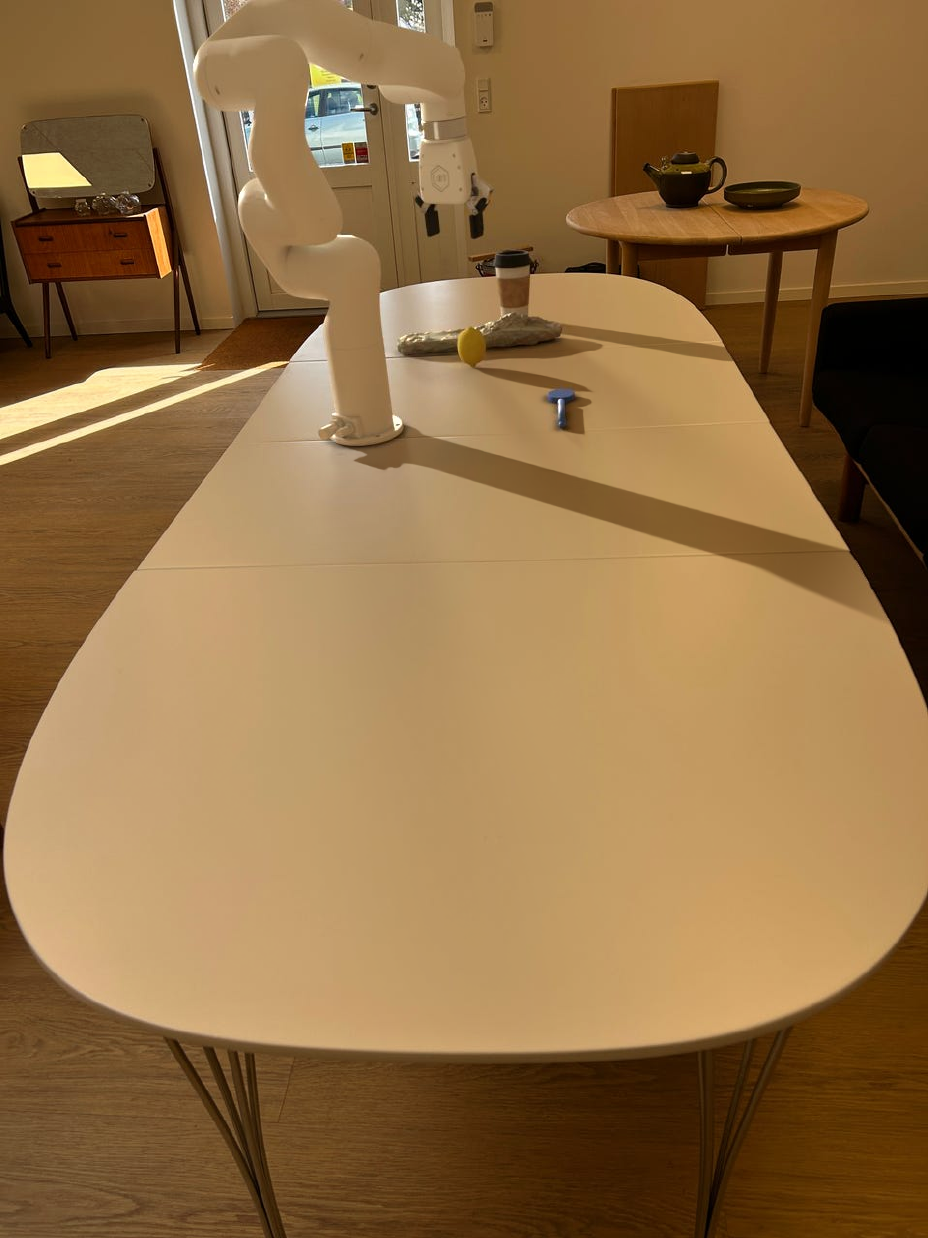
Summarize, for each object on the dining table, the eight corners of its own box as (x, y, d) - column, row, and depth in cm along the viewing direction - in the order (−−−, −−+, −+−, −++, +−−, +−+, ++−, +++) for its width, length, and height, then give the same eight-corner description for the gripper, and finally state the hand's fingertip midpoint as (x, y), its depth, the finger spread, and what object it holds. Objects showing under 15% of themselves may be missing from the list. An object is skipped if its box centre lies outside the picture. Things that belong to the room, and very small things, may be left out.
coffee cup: (492, 325, 210) (488, 255, 202) (502, 315, 217) (498, 247, 209) (528, 325, 208) (525, 255, 200) (537, 315, 214) (534, 246, 206)
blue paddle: (576, 428, 153) (576, 421, 152) (547, 430, 154) (547, 423, 153) (574, 393, 168) (574, 386, 167) (547, 394, 168) (547, 388, 168)
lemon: (487, 362, 188) (485, 321, 183) (485, 370, 183) (483, 329, 179) (460, 363, 188) (457, 323, 184) (457, 372, 184) (454, 331, 179)
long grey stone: (399, 351, 203) (399, 367, 195) (395, 327, 200) (395, 343, 192) (559, 328, 202) (565, 343, 194) (557, 303, 199) (563, 318, 191)
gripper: (392, 135, 161) (405, 239, 171) (474, 133, 152) (483, 243, 162) (418, 128, 166) (429, 229, 176) (499, 125, 157) (506, 232, 167)
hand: (455, 235), depth 169 cm, fingers open, 9 cm apart
